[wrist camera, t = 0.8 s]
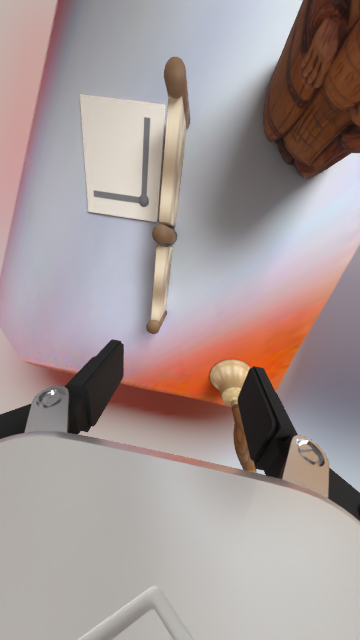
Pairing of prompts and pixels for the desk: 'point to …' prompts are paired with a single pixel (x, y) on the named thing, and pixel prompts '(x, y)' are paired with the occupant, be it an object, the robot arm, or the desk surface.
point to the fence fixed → (173, 149)
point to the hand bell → (233, 402)
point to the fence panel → (160, 287)
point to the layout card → (123, 155)
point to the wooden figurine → (317, 87)
